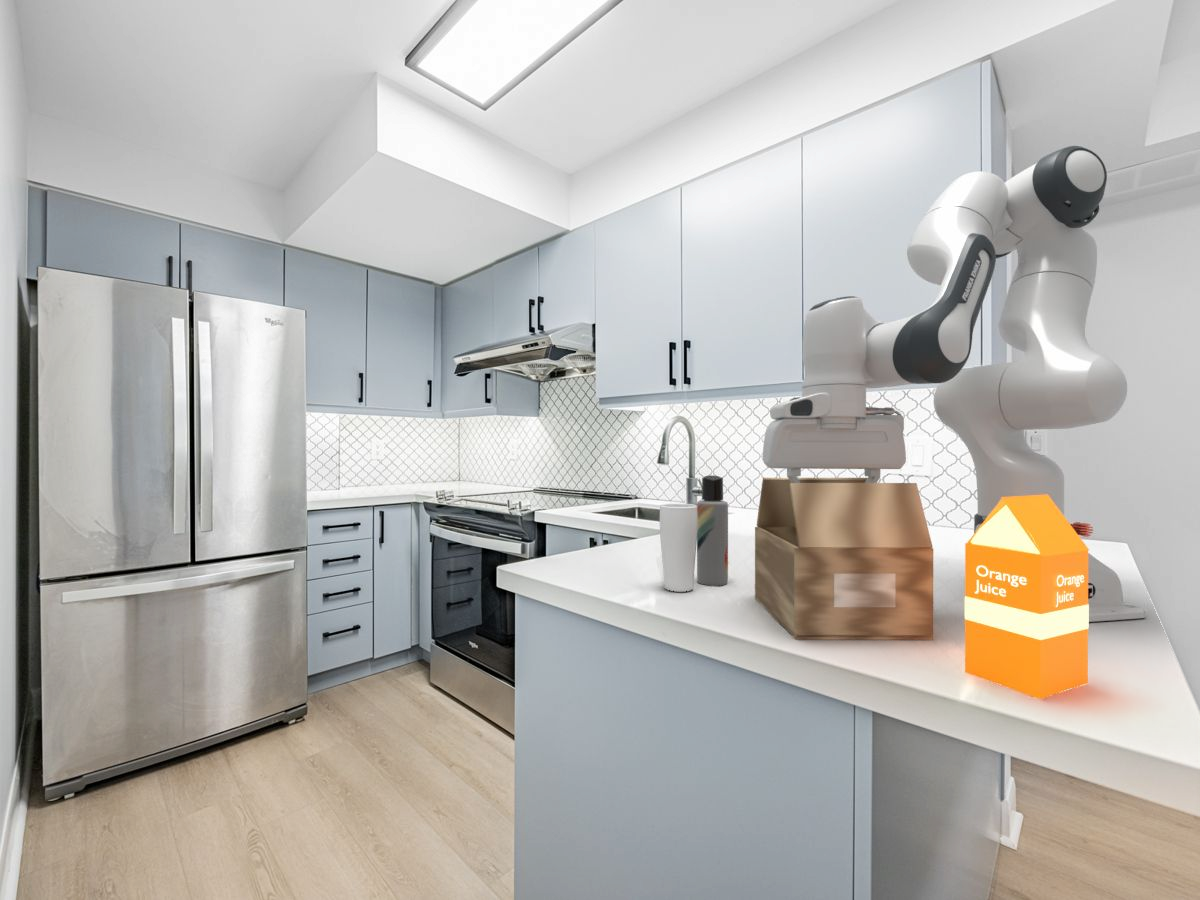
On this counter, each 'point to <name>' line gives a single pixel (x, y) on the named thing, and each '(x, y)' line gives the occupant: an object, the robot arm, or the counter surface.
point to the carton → (844, 589)
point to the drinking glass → (678, 545)
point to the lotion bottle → (712, 533)
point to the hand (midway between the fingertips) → (832, 499)
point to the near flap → (859, 515)
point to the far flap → (785, 500)
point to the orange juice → (1027, 599)
